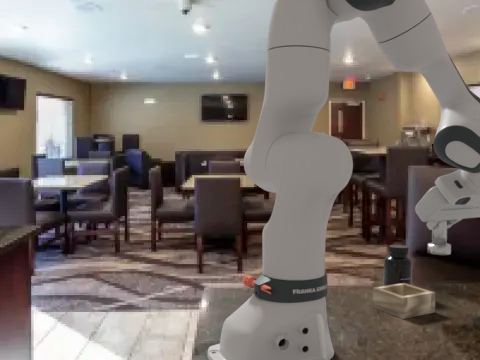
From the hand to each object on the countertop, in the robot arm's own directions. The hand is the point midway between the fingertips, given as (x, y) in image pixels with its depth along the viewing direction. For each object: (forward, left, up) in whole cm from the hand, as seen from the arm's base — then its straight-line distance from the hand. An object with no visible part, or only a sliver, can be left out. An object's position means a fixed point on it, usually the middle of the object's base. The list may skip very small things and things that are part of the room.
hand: (437, 226), depth 120 cm
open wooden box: (-10, 0, -18) cm, 21 cm away
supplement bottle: (-1, +11, -18) cm, 21 cm away
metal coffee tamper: (0, -1, -6) cm, 6 cm away
